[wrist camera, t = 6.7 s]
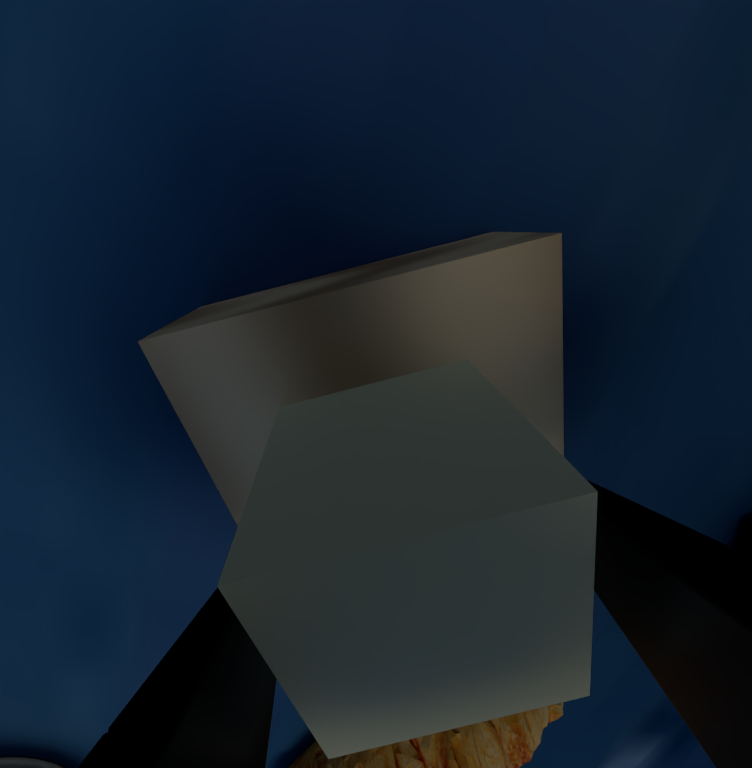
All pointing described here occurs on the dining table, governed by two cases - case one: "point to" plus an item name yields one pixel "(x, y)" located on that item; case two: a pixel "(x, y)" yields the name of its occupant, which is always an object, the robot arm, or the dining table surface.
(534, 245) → the birch plinth
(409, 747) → the croissant
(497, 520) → the sage cube
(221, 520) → the dining table surface
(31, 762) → the lidded jar
